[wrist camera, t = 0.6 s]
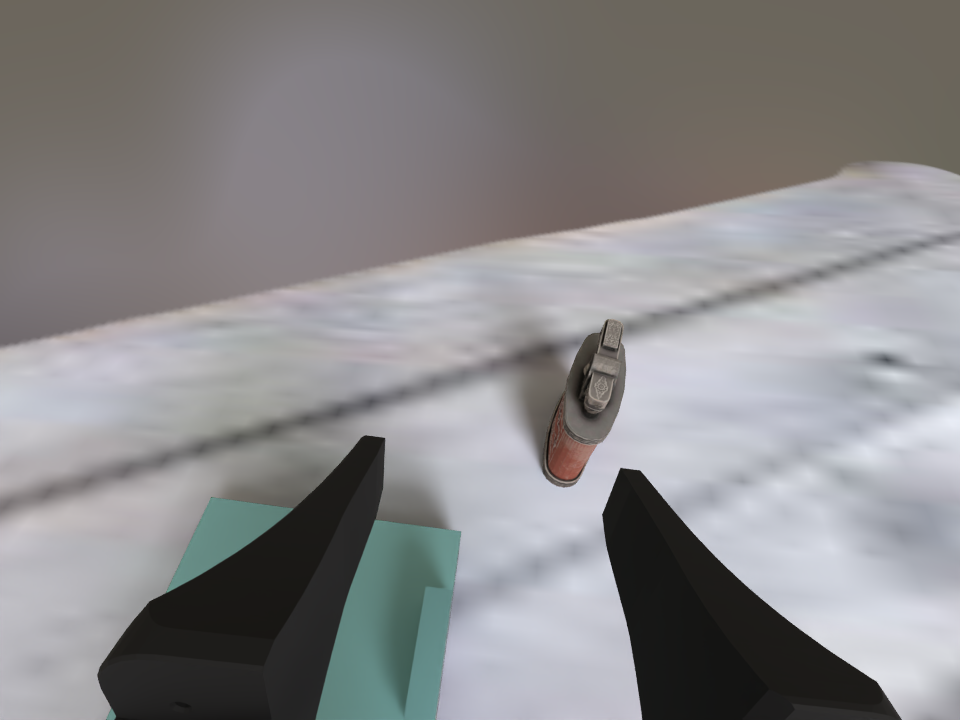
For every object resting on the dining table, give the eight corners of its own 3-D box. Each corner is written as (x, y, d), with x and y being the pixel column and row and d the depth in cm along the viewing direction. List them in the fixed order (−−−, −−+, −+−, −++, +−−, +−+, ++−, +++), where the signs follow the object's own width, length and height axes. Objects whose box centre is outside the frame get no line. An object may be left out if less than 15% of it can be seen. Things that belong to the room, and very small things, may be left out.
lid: (420, 830, 19) (414, 871, 15) (99, 783, 20) (3, 810, 15) (460, 540, 26) (463, 511, 22) (224, 507, 27) (181, 472, 22)
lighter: (581, 494, 31) (629, 426, 23) (533, 478, 32) (565, 405, 24) (600, 399, 36) (646, 315, 28) (559, 386, 36) (592, 300, 28)
